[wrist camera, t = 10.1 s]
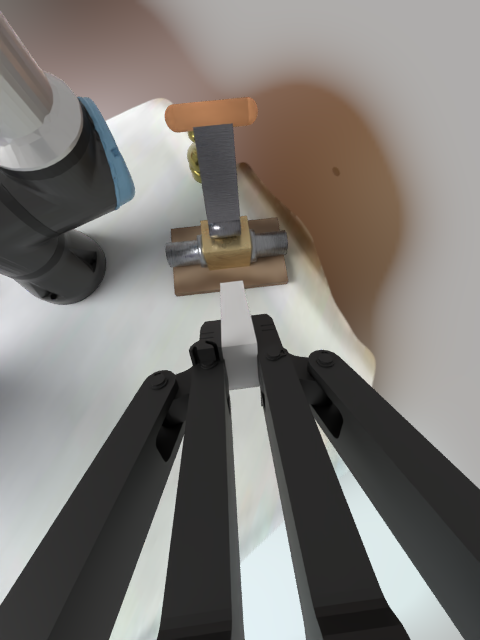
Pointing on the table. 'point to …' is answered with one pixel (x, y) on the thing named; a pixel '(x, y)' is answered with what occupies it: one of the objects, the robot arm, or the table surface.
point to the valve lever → (216, 154)
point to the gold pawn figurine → (193, 158)
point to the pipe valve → (227, 257)
